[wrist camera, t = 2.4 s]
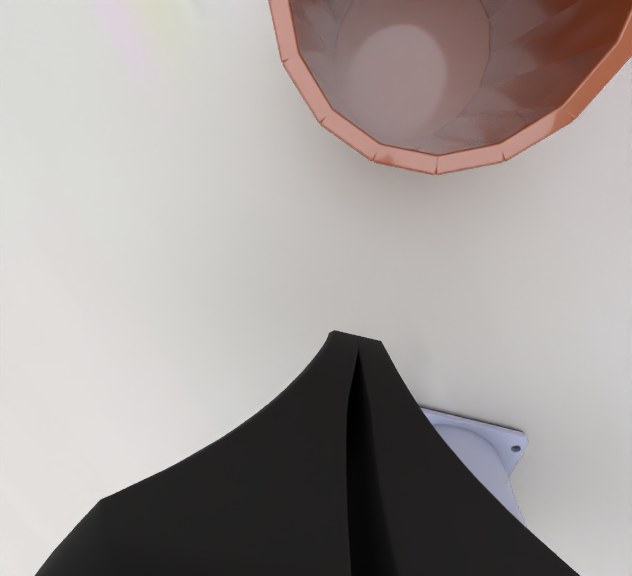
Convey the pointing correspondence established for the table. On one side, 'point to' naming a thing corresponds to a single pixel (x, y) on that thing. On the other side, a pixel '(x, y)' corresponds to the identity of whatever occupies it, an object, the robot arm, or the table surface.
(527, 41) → the cup
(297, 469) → the robot arm
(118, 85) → the table surface
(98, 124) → the table surface
